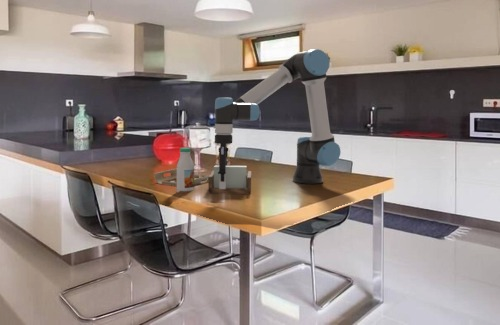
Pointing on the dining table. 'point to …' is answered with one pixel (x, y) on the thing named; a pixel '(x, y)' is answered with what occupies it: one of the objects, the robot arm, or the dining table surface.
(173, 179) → the toy food set
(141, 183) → the dining table surface
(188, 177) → the milk bottle
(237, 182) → the sheet
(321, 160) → the robot arm
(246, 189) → the rack
